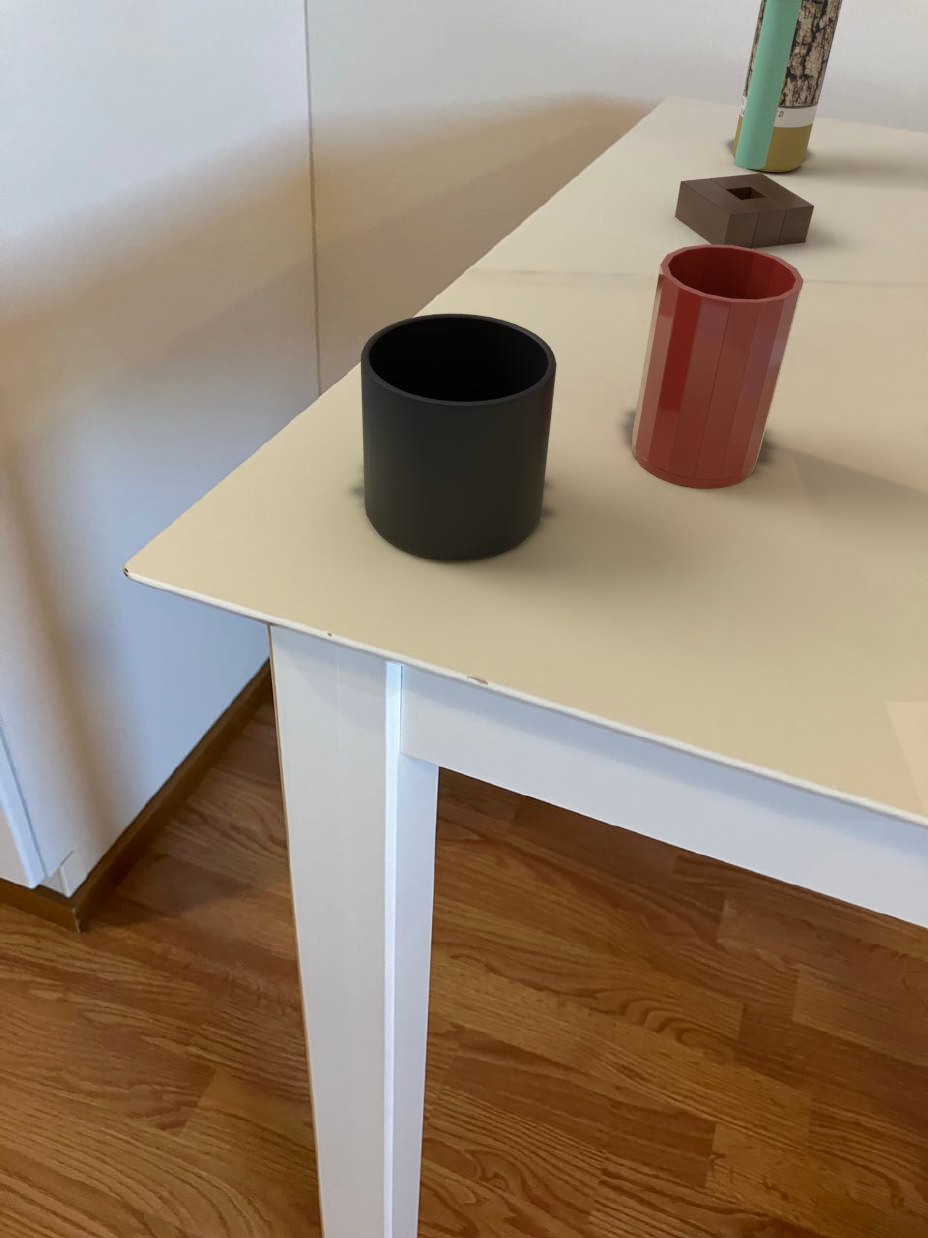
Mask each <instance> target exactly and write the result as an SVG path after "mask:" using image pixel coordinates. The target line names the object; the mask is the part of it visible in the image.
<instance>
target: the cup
mask: <svg viewBox="0 0 928 1238" xmlns="http://www.w3.org/2000/svg"><path fill="white" fill-rule="evenodd" d="M804 282H805V281H804V278H803V277H802V275H801V273H800V271H799V270H798V269H797V268H796V267H795V266H794V265H792V264H791V263H789V262H787V261H786V260H784V259H783V258H781V257H778V256H775V255H773V254H770V253H768V252H765V251H762V250H759V249H756V248H755V249H750V248H744V247H739V246H734V245H713V244H710V243H709V244H708V243H705V244H698V245H697V244H696V245H691V246H682V247H680V248H678V249H676V250H674V251H670V252H669V253H667V254H666V255H665V257H664V258H663V259H662V261H661V263H660V264H659V271H658V277H657V283H656V288H655V294H654V301H653V307H652V312H651V318H650V326H649V331H648V332H649V333H648V338H647V344H646V350H645V354H644V355H645V356H644V361H643V362H644V363H643V367H642V375H641V380H640V386H639V392H638V398H637V405H636V412H635V417H634V423H633V429H632V436H631V437H632V441H631V451H632V454H633V457H634V459H635V461H636V462H637V463H638V464H639V466H641V467H642V468H643V469H644V470H645V471H647V472H648V473H649V474H651V475H652V476H655V477H657V478H658V479H661V480H663V481H666V482H669V483H671V484H675V485H679V486H683V487H688V488H695V489H717V488H720V489H721V488H725V487H731V486H733V485H736V484H738V483H741V482H742V481H744V480H746V479H747V478H749V477H750V476H751V474H752V473H753V472H754V470H755V468H756V466H757V461H758V458H759V455H760V452H761V448H762V444H763V440H764V437H765V433H766V428H767V425H768V421H769V417H770V414H771V409H772V406H773V402H774V398H775V395H776V391H777V386H778V383H779V378H780V374H781V371H782V367H783V363H784V358H785V355H786V352H787V347H788V344H789V339H790V336H791V333H792V328H793V324H794V320H795V318H796V317H795V316H796V313H797V309H798V305H799V301H800V297H801V293H802V290H803V285H804Z"/></svg>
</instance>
